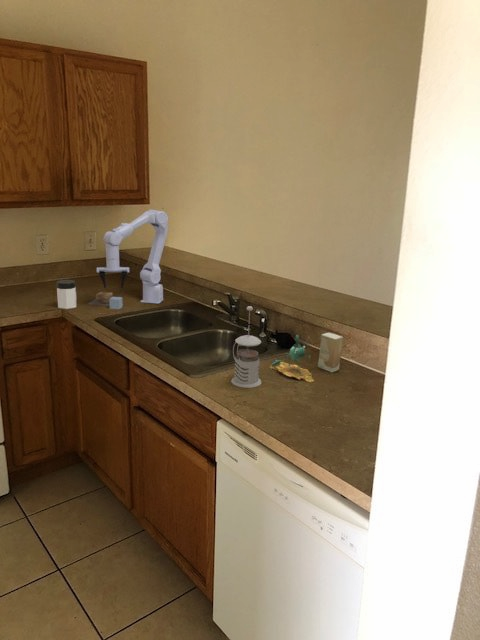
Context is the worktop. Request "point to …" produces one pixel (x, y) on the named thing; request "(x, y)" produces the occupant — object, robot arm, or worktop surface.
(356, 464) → the worktop surface
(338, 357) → the skincare box
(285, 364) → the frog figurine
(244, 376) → the french press
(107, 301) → the tan cardboard box
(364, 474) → the worktop surface
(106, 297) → the slab upper
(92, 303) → the mat
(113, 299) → the blue cube
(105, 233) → the robot arm
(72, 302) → the jar
